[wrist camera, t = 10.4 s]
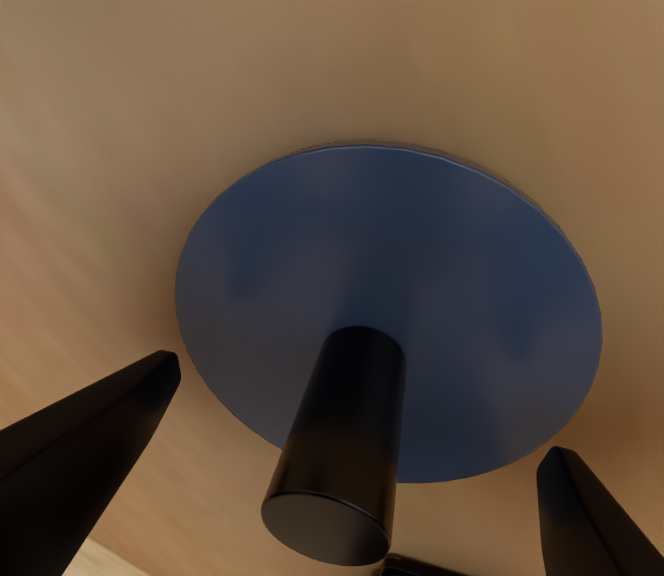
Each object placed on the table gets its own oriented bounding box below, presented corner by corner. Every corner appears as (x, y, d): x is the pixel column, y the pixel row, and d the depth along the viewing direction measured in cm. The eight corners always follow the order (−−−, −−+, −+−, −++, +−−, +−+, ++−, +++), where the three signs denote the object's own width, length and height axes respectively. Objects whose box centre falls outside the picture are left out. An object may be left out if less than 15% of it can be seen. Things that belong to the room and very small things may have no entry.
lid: (692, 179, 8) (1112, 393, 3) (499, 488, 14) (531, 714, 9) (170, 101, 9) (-110, 159, 4) (209, 411, 15) (109, 570, 11)
